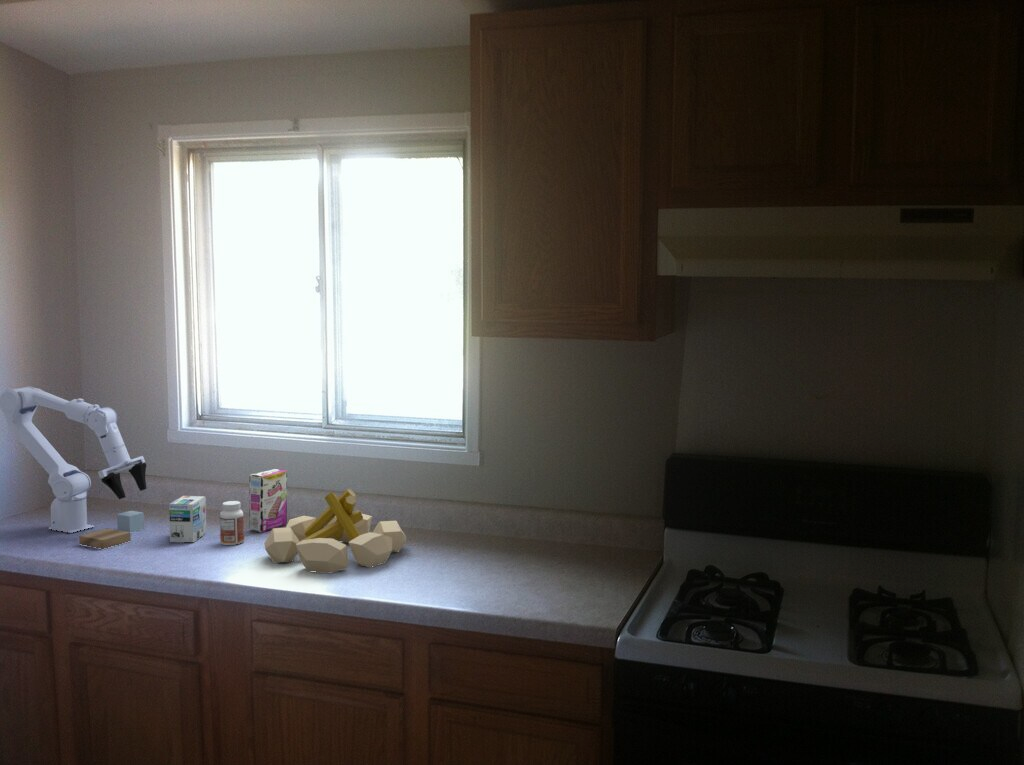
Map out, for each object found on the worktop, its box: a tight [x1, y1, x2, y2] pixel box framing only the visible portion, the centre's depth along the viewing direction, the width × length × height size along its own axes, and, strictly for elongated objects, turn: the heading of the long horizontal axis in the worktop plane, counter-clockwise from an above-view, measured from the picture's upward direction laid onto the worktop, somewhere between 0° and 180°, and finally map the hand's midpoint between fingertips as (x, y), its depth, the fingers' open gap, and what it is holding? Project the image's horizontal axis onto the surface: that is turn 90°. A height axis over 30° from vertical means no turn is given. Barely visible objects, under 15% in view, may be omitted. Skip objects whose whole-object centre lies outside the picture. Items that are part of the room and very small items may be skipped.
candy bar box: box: [248, 468, 288, 534], centre depth 271 cm, size 11×5×16 cm, turn 154°
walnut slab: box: [78, 528, 132, 550], centre depth 253 cm, size 9×9×3 cm
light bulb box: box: [168, 495, 207, 543], centre depth 259 cm, size 11×7×11 cm, turn 179°
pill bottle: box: [219, 500, 245, 546], centre depth 255 cm, size 6×6×11 cm
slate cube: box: [116, 510, 145, 533], centre depth 267 cm, size 5×5×5 cm
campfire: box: [264, 488, 407, 573], centre depth 245 cm, size 35×34×17 cm
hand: (133, 494), depth 264 cm, fingers open, 7 cm apart
